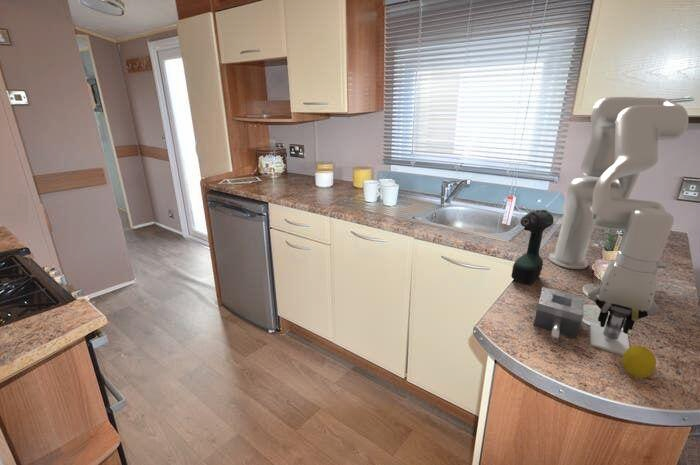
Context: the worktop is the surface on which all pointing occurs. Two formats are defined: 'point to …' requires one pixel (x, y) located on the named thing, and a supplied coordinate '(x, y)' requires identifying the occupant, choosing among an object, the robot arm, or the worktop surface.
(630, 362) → the lemon
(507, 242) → the worktop surface
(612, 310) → the dark gray knob
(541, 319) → the block
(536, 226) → the power drill
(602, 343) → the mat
